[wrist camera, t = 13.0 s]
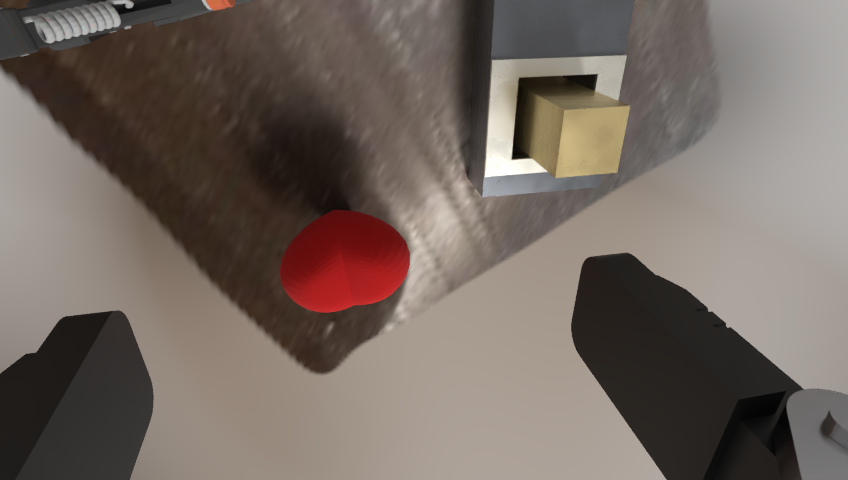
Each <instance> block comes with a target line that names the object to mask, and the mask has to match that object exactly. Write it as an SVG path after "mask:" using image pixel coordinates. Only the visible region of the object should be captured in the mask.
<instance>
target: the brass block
mask: <svg viewBox="0 0 848 480" xmlns="http://www.w3.org/2000/svg"><path fill="white" fill-rule="evenodd" d="M629 109H630V106H629V105H627V104H625V103H622V102H620V101H618V100H615V99H613V98H611V97H608V96H606V95H603V94H601V93H599V92H596V91H594V90H592V89H589V88H587V87H585V86H582V85H580V84H577V83H575V82H573V81H570V80H568V79H566V78H563V77H561V76H543V77H523V78H519V80H518V91H517V102H516V113H515V125H514V136H513V143H514V144H516V145H517V146H518V147H519V148H520V149H521V150H523V151H524V152H525V153H526V154H527V155H529V156H530V157H531V158H532V159H533V160H535V161H536V162H537V163H538V164H539V165H540V166H542V167H543V168H544V169H545V170H546V171H548V172H549V173H550V174H551V175H552V176H554V177H555V178H562V177H573V176H584V175H595V174H606V173H617V170H618V165H619V160H620V155H621V150H622V145H623V140H624V135H625V130H626V125H627V120H628V115H629Z"/></svg>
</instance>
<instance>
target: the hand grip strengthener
mask: <svg viewBox="0 0 848 480" xmlns="http://www.w3.org/2000/svg"><path fill="white" fill-rule="evenodd" d="M250 1H254V0H30V1H29V2H28V3H27V8H23V9H18V10H17V9H16V8H6V9H3V8H2V7H0V60H3V59H8V58H12V57H17V56H25V55H29V54H30V53H34V52H37V51H39V48H43V47H47V46H48V47H49V48H51V49H53V50H63V49H67V48H72V47H76V46H81V45H85V44H89V43H92V42H93V41H95V40H96V39H98V38H100V37H102V36H105V35H107V34H109V33H108V32H110V33H111V32H116V31H117V30H120V29H121V28H122V27H124V29H130V28H132V27H131V25H136V24H140V23H145V22H150V21H152V22H153V24H154V26H159V25H163V24H168V23H172V22H176V21H180V20H184V19H187V18H191V17H194V16H198V15H201V14H205V13H209V12H212V11H216V10H220V9H224V8H228V7H233V6H235V5H239V4H243V3H246V2H250Z"/></svg>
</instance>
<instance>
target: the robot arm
mask: <svg viewBox="0 0 848 480" xmlns="http://www.w3.org/2000/svg"><path fill="white" fill-rule="evenodd" d="M571 331H572V337H573V342H574V345H575V348H576V350H577V352H578V354H579V355H580V357H581V358H582V360H583V361H584V362H585V364H586V365H587V367H588V368H589V370H590V371H591V372H592V374H593V375H594V377H595V378H596V379H597V381H598V382H599V384H600V385H601V387H602V388H603V390H604V391H605V392H606V394H607V395H608V397H609V398H610V399H611V401H612V402H613V404H614V405H615V407H616V408H617V409H618V411H619V412H620V414H621V415H622V416H623V418H624V419H625V421H626V422H627V424H628V425H629V427H630V428H631V429H632V431H633V432H634V433H635V435H636V436H637V438H638V439H639V441H640V442H641V444H642V445H643V446H644V448H645V449H646V451H647V452H648V454H649V455H650V456H651V458H652V459H653V461H654V462H655V463H656V465H657V466H658V468H659V469H660V471H661V472H662V474H663V475H664V476H665V478H666V479H667V480H848V395H846V394H843V393H839V392H835V391H831V390H825V389H805V390H804V389H803V388H801V386H799V385H798V384H797V383H796V382H795V381H793V380H792V379H791V378H790V377H789V376H788V375H786V374H785V373H784V372H783V371H782V370H780V369H779V368H778V367H777V366H776V365H775V364H773V363H772V362H771V361H770V360H769V359H767V358H766V357H765V356H764V355H763V354H762V353H760V352H759V351H758V350H757V349H755V348H754V347H753V346H752V345H751V344H750V343H749V342H747V341H746V340H745V339H744V338H743V337H741V336H740V335H739V334H738V333H737V332H736V331H734V330H733V329H732V328H731V327H730V328H727V327H726V323H725V322H724V321H723V320H721V319H720V318H719V317H718V316H717V315H716V314H714V313H713V312H708V309H707V307H706V306H705V305H704V304H702V303H701V302H700V301H699V300H698V299H696V298H695V297H694V296H693V295H692V294H691V293H690V292H688V291H687V290H686V289H684V288H682V287H680V286H678V285H676V284H674V283H672V282H670V281H668V280H666V279H664V278H662V277H660V276H658V275H655V274H654V273H653V272H652V271H650V270H649V269H648V268H647V267H646V266H645V265H644V264H642V263H641V262H640V261H639V260H638V259H637V258H636V257H634V256H633V255H632V254H629V253H620V254H611V255H602V256H594V257H589V258H587V259H586V260H585V261H584V263H583V265H582V269H581V274H580V279H579V284H578V290H577V295H576V301H575V306H574V311H573V317H572V323H571ZM152 411H153V388H152V382H151V379H150V376H149V373H148V371H147V368H146V365H145V363H144V360H143V357H142V355H141V352H140V349H139V347H138V344H137V342H136V339H135V336H134V334H133V331H132V328H131V326H130V323H129V321H128V319H127V317H126V315H125V314H124V313H123V312H121V311H109V312H100V313H92V314H83V315H74V316H66V317H63V318H62V319H61V320H60V321H59V322H58V323H57V324H56V326H55V327H54V328H53V330H52V331H51V333H50V334H49V336H48V337H47V338H46V340H45V341H44V342H43V344H42V345H41V347H40V348H39V350H38V351H37V352H36V353H30V354H25V355H24V356H23V357H21V358H20V359H19V360H17V361H16V362H15V363H14V364H12V365H11V366H10V367H8V368H7V369H6V370H4V371H3V372H2V373H1V374H0V480H130V477H131V474H132V471H133V468H134V465H135V463H136V460H137V457H138V454H139V451H140V448H141V446H142V443H143V440H144V437H145V434H146V431H147V428H148V426H149V423H150V420H151V416H152Z"/></svg>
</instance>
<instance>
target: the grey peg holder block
mask: <svg viewBox="0 0 848 480" xmlns="http://www.w3.org/2000/svg"><path fill="white" fill-rule="evenodd" d="M634 1H635V0H476V13H475V35H474V57H473V79H472V101H471V123H470V144H469V166H468V179H469V180H470V182H471V183H472V184H473V186H474V187H475V188H476V190H477V191H478V192H479V193H480V195H481V196H482V197H490V196H501V195H513V194H524V193H535V192H547V191H558V190H569V189H580V188H592V187H600V181H601V176H602V174H595V175H584V176H573V177H562V178H555V177H554V176H552V175H551V174H550V173H549V172H548V171H546V170H545V169H544V168H543V167H542V166H540V165H539V164H538V163H537V162H536V161H535V160H533V159H532V158H531V157H530V156H529V155H527V154H526V153H525V152H524V151H523V150H521V149H520V148H519V147H518V146H517V145H516V144H514V143H513V136H514V125H515V113H516V102H517V91H518V80H519V77H541V76H564V75H569V77H568V80H570V81H573V82H575V83H577V84H580V85H582V86H585V87H587V88H589V89H592V90H594V91H596V92H599V93H601V94H603V95H606V96H608V97H611V98H613V99H615V100H618V98H619V93H620V88H621V83H622V78H623V72H624V67H625V62H626V57H627V55H624V54H625V49H626V44H627V38H628V33H629V28H630V22H631V17H632V12H633V6H634Z"/></svg>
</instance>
